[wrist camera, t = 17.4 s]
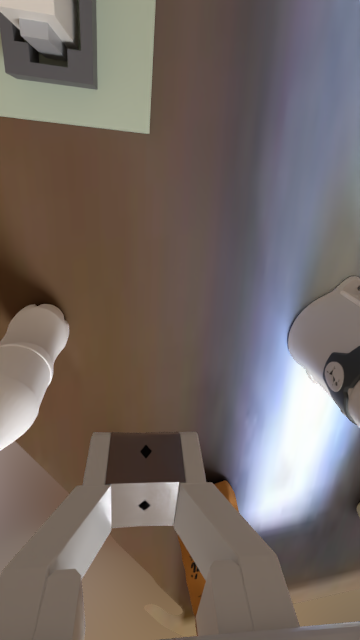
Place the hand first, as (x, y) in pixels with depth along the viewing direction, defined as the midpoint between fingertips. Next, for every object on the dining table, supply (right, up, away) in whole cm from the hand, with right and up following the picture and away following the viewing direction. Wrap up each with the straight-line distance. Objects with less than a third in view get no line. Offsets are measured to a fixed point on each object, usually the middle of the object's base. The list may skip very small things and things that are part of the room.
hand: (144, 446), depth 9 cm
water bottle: (-18, +4, +35) cm, 40 cm away
